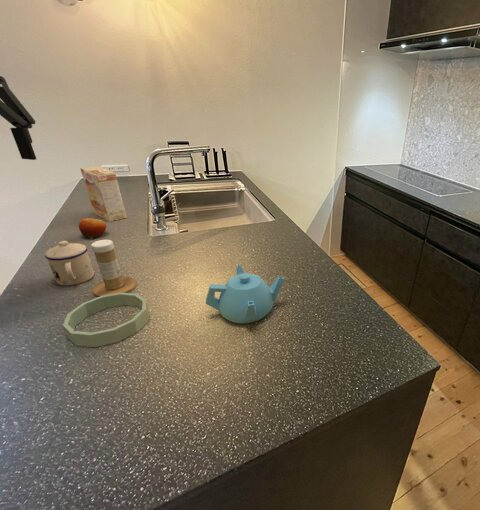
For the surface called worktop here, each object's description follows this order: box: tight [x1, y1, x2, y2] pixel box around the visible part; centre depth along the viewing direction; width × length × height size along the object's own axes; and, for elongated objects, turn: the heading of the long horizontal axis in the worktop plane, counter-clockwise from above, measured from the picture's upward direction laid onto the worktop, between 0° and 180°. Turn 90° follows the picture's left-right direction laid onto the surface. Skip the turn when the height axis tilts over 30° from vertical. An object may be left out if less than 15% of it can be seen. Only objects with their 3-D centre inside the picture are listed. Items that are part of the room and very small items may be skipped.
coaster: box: [92, 276, 137, 298], centre depth 86 cm, size 10×10×1 cm
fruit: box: [78, 217, 107, 240], centre depth 112 cm, size 8×8×8 cm
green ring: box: [62, 292, 150, 348], centre depth 73 cm, size 16×16×4 cm
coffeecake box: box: [79, 166, 128, 223], centre depth 128 cm, size 15×7×20 cm, turn 55°
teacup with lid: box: [44, 240, 95, 286], centre depth 85 cm, size 12×9×12 cm
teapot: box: [205, 264, 285, 325], centre depth 80 cm, size 15×15×11 cm
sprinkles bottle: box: [90, 239, 124, 289], centre depth 83 cm, size 5×5×14 cm
